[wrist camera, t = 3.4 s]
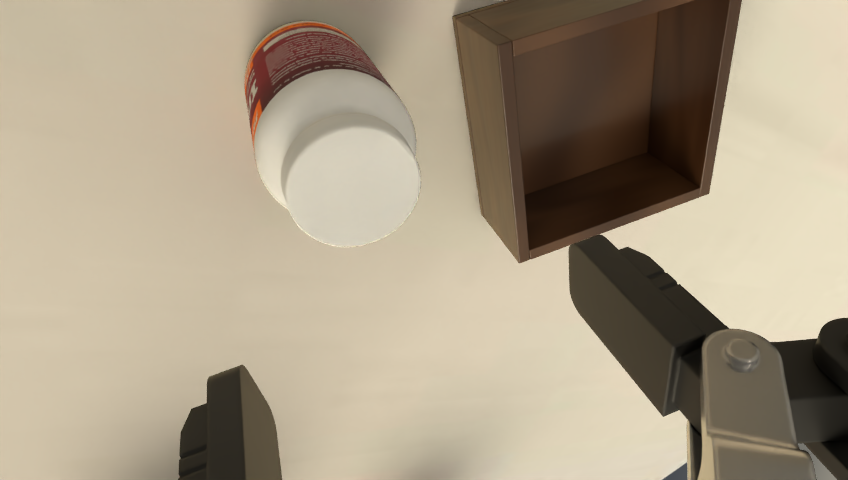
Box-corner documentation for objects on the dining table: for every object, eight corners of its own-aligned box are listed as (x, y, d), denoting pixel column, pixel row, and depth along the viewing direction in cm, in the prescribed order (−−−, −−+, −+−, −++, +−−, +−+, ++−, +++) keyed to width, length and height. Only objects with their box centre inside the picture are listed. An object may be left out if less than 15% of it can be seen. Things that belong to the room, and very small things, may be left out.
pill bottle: (217, 48, 25) (221, 150, 16) (342, -4, 25) (411, 67, 16) (279, 160, 29) (309, 290, 20) (386, 114, 29) (461, 221, 20)
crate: (481, 214, 35) (519, 264, 30) (451, 16, 27) (497, 45, 23) (650, 154, 36) (709, 193, 32) (667, -48, 29) (747, -32, 25)
